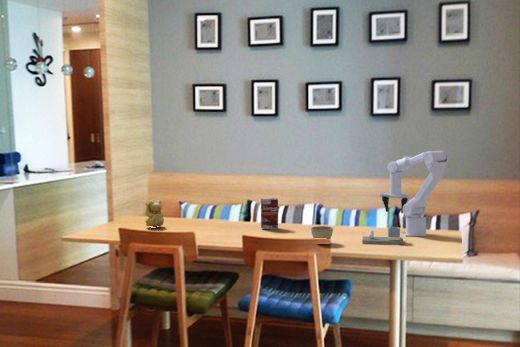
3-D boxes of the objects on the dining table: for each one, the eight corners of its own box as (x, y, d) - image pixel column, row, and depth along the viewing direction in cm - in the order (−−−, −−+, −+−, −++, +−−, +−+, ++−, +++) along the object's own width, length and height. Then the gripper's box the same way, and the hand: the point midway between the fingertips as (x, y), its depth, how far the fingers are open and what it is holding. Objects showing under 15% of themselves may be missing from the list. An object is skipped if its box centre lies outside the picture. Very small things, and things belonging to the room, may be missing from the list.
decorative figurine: (161, 225, 303) (160, 198, 302) (166, 228, 296) (166, 200, 295) (144, 227, 299) (143, 199, 297) (149, 229, 292) (148, 201, 290)
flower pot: (309, 241, 258) (309, 226, 257) (330, 241, 259) (330, 225, 258) (313, 246, 248) (313, 230, 247) (335, 245, 249) (335, 229, 248)
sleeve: (387, 237, 257) (388, 226, 256) (399, 237, 256) (399, 227, 255) (388, 239, 252) (388, 228, 251) (399, 240, 251) (399, 229, 250)
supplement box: (262, 230, 288) (261, 199, 286) (260, 228, 292) (260, 198, 291) (278, 229, 289) (278, 199, 287) (277, 227, 293) (276, 197, 292)
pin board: (402, 240, 258) (402, 228, 257) (403, 244, 249) (403, 232, 248) (362, 239, 261) (362, 227, 261) (362, 243, 252) (362, 231, 252)
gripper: (378, 185, 278) (378, 212, 280) (408, 187, 272) (407, 214, 273) (382, 183, 285) (381, 210, 286) (411, 185, 278) (410, 212, 280)
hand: (394, 212), depth 280 cm, fingers open, 7 cm apart
